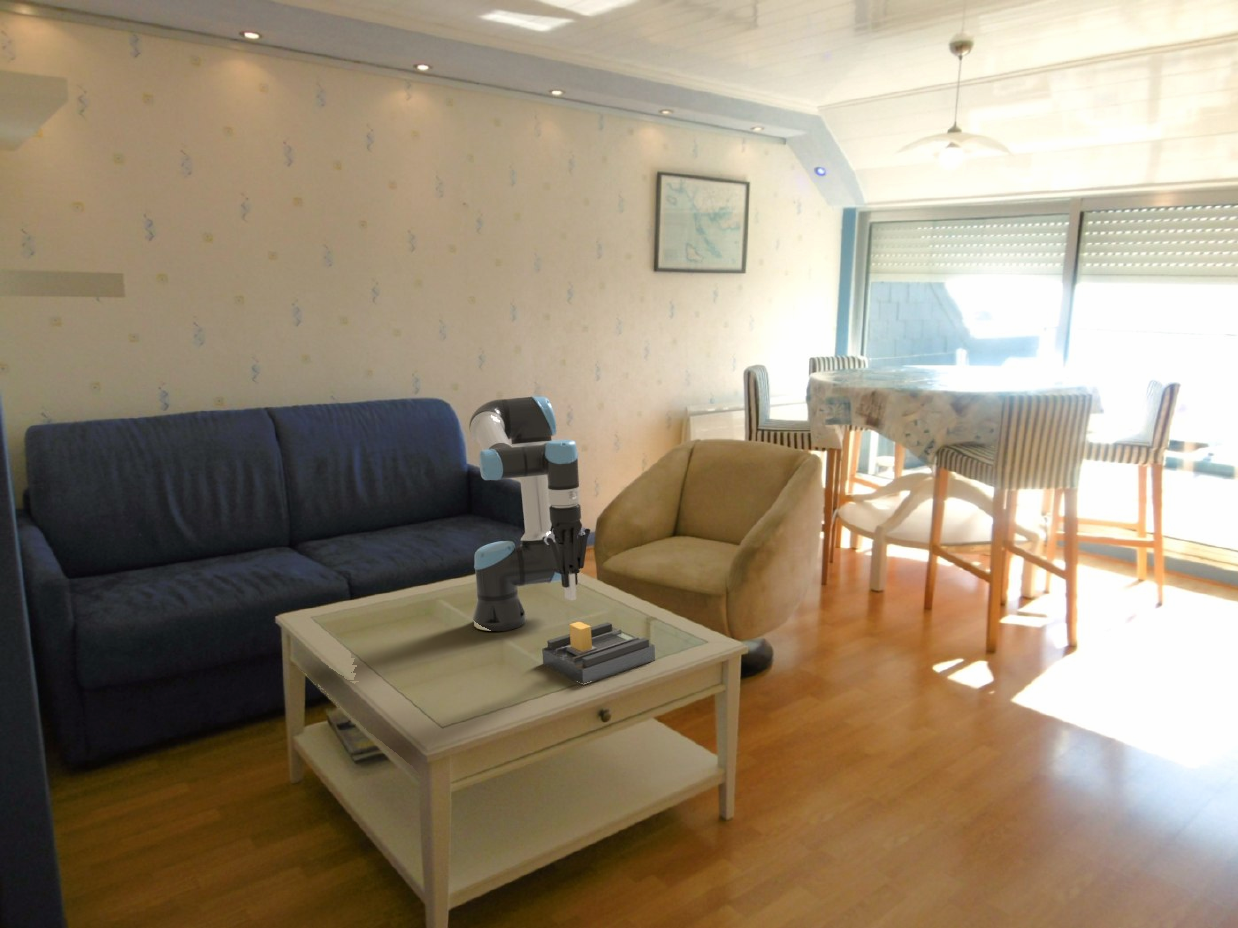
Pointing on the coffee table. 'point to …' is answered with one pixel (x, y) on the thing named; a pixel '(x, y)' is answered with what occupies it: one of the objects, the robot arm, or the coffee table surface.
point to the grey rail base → (573, 663)
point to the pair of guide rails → (604, 654)
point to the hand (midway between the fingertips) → (570, 598)
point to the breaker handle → (580, 639)
